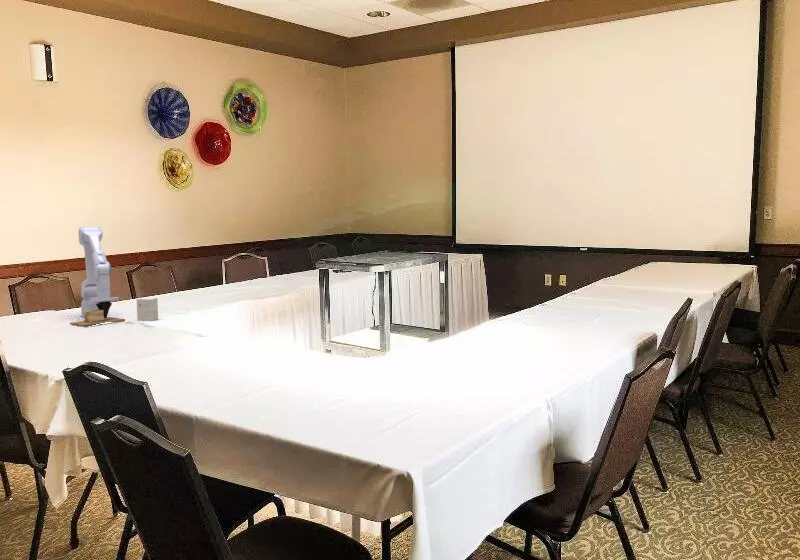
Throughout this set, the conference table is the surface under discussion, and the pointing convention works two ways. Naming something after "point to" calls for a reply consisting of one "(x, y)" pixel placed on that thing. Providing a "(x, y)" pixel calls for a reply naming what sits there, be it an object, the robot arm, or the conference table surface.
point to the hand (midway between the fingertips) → (104, 317)
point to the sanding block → (94, 316)
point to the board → (86, 324)
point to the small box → (147, 309)
